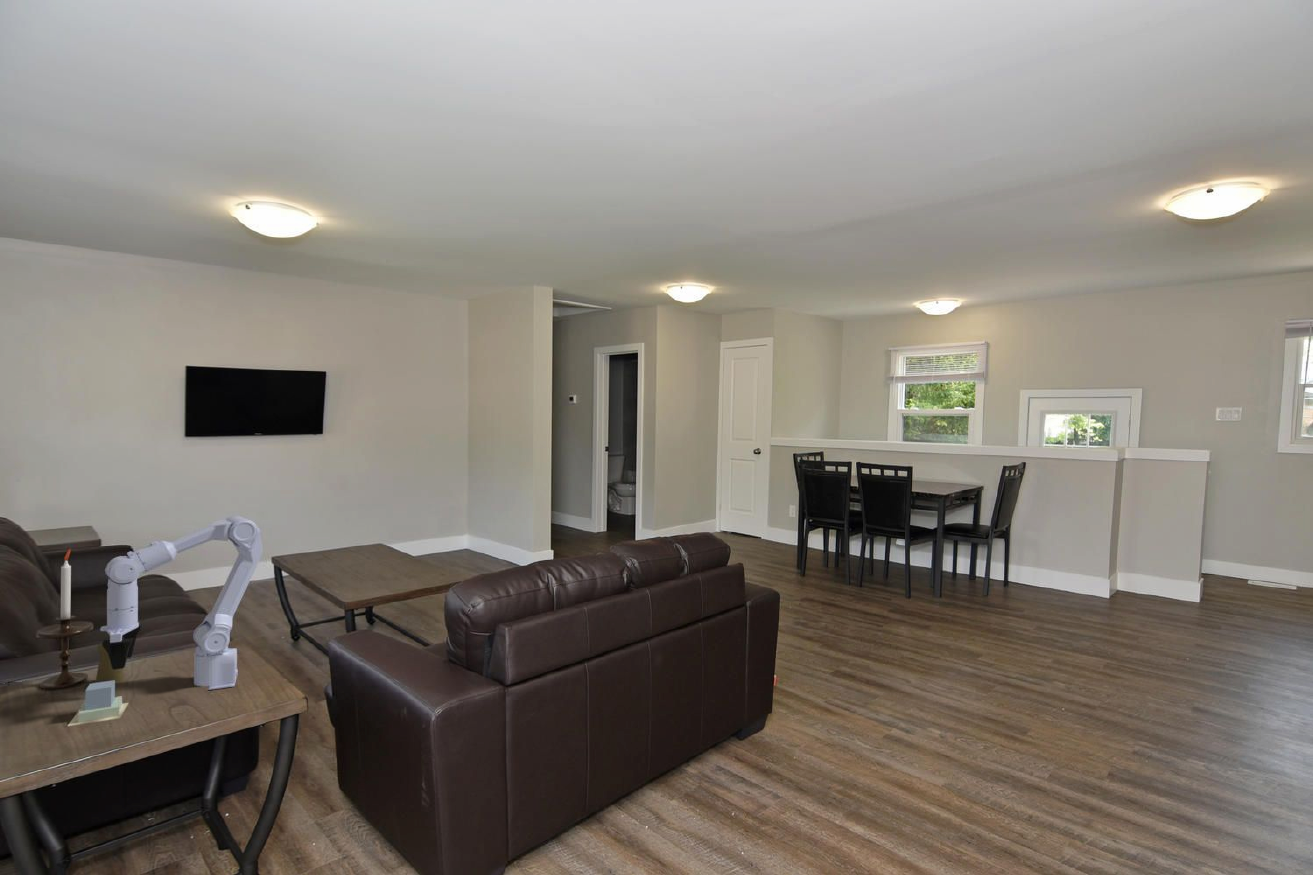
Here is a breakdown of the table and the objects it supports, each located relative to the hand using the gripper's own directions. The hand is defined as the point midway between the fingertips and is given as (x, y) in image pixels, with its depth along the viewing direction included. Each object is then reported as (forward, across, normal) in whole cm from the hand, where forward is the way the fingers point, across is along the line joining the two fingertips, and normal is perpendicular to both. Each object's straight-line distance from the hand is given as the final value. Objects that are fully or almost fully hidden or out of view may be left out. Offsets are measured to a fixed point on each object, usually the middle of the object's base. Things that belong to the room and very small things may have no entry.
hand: (122, 662), depth 155 cm
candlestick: (+10, -22, -16) cm, 29 cm away
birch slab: (+11, +7, -3) cm, 13 cm away
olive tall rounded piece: (+10, -18, -6) cm, 22 cm away
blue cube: (+7, +6, -3) cm, 10 cm away
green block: (+9, +6, -3) cm, 11 cm away
